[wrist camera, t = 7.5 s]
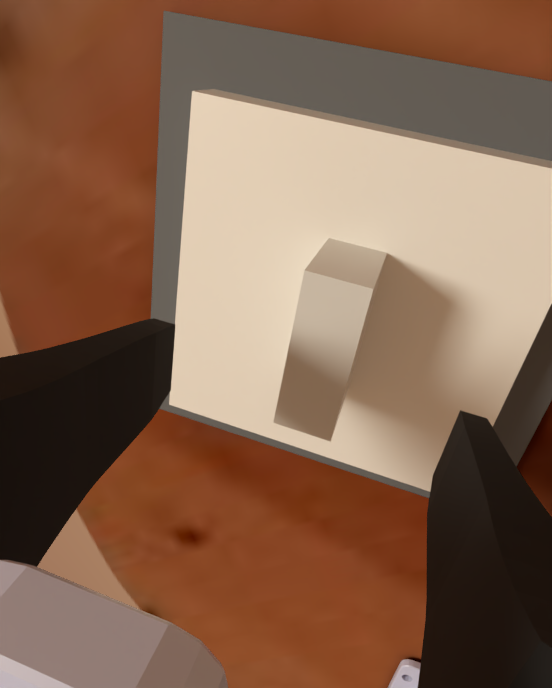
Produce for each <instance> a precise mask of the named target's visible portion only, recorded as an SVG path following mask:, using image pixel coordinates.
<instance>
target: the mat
mask: <svg viewBox="0 0 552 688" xmlns="http://www.w3.org/2000/svg"><path fill="white" fill-rule="evenodd" d="M208 89H216V90H221V91H226V92H230V93H235V94H240V95H244V96H249V97H254V98H258V99H263V100H268V101H272V102H277V103H282V104H286V105H291V106H296V107H301V108H305V109H310V110H315V111H319V112H324V113H329V114H333V115H338V116H343V117H347V118H352V119H357V120H361V121H366V122H371V123H375V124H380V125H385V126H389V127H394V128H399V129H404V130H408V131H413V132H418V133H422V134H427V135H432V136H436V137H441V138H446V139H450V140H455V141H460V142H464V143H469V144H474V145H478V146H483V147H488V148H492V149H497V150H502V151H506V152H511V153H516V154H521V155H525V156H530V157H535V158H539V159H544V160H549V161H552V82H551V81H546V80H541V79H535V78H530V77H524V76H519V75H513V74H508V73H502V72H497V71H491V70H486V69H480V68H475V67H469V66H464V65H458V64H453V63H447V62H442V61H436V60H431V59H425V58H420V57H414V56H409V55H403V54H398V53H393V52H387V51H382V50H376V49H371V48H365V47H360V46H354V45H349V44H343V43H338V42H332V41H327V40H321V39H316V38H310V37H305V36H299V35H294V34H288V33H283V32H277V31H272V30H266V29H261V28H255V27H250V26H245V25H239V24H234V23H228V22H223V21H217V20H212V19H206V18H201V17H195V16H190V15H184V14H179V13H173V12H168V11H164V17H163V41H162V65H161V89H160V113H159V137H158V160H157V184H156V208H155V232H154V256H153V280H152V304H151V319H153V318H155V319H158V320H162V321H165V322H168V323H172V324H175V316H176V302H177V288H178V275H179V261H180V248H181V234H182V221H183V207H184V193H185V180H186V166H187V153H188V139H189V125H190V112H191V98H192V91H197V90H208ZM169 397H170V392H169V394H168V395H167V397H166V399H165V400H164V402H163V403H162V405H161V406H160V408H159V409H162V410H165V411H168V412H172V413H175V414H178V415H181V416H184V417H187V418H190V419H193V420H196V421H199V422H202V423H205V424H208V425H211V426H214V427H217V428H220V429H223V430H226V431H229V432H232V433H235V434H238V435H241V436H244V437H247V438H250V439H253V440H256V441H259V442H262V443H265V444H268V445H271V446H274V447H277V448H280V449H283V450H286V451H289V452H292V453H295V454H298V455H301V456H304V457H307V458H310V459H313V460H316V461H319V462H322V463H325V464H328V465H331V466H334V467H337V468H340V469H343V470H346V471H349V472H352V473H355V474H358V475H361V476H364V477H367V478H370V479H373V480H376V481H379V482H382V483H385V484H388V485H391V486H394V487H397V488H400V489H403V490H406V491H409V492H412V493H415V494H418V495H421V496H424V497H427V498H429V497H430V492H429V491H426V490H423V489H420V488H417V487H414V486H411V485H408V484H405V483H402V482H399V481H396V480H393V479H390V478H387V477H385V476H382V475H379V474H376V473H373V472H370V471H367V470H364V469H361V468H358V467H355V466H352V465H349V464H346V463H343V462H340V461H337V460H334V459H331V458H328V457H325V456H322V455H319V454H316V453H313V452H310V451H307V450H304V449H301V448H298V447H295V446H292V445H289V444H286V443H283V442H280V441H277V440H274V439H271V438H268V437H265V436H262V435H259V434H256V433H253V432H250V431H247V430H244V429H241V428H238V427H235V426H232V425H229V424H226V423H223V422H220V421H217V420H214V419H211V418H208V417H205V416H202V415H199V414H196V413H193V412H190V411H187V410H184V409H181V408H178V407H175V406H172V405H169ZM551 400H552V304H551V306H550V308H549V310H548V312H547V314H546V316H545V318H544V320H543V323H542V325H541V327H540V329H539V331H538V333H537V335H536V337H535V339H534V341H533V343H532V346H531V348H530V350H529V352H528V354H527V356H526V358H525V360H524V362H523V364H522V367H521V369H520V371H519V373H518V375H517V377H516V379H515V381H514V383H513V385H512V387H511V390H510V392H509V394H508V396H507V398H506V400H505V402H504V404H503V406H502V408H501V410H500V413H499V415H498V417H497V419H496V421H495V423H494V425H493V429H494V430H495V432H496V434H497V436H498V437H499V439H500V441H501V442H502V444H503V446H504V447H505V449H506V451H507V453H508V454H509V456H510V458H511V459H512V461H513V462H514V464H515V466H516V467H517V465H518V463H519V461H520V459H521V457H522V455H523V453H524V452H525V450H526V448H527V446H528V444H529V442H530V440H531V438H532V436H533V434H534V433H535V431H536V429H537V427H538V425H539V423H540V421H541V419H542V417H543V415H544V414H545V412H546V410H547V408H548V406H549V404H550V402H551Z"/></svg>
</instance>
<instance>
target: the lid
mask: <svg viewBox="0 0 552 688" xmlns="http://www.w3.org/2000/svg"><path fill="white" fill-rule="evenodd" d="M551 304H552V161H549V160H544V159H539V158H535V157H530V156H525V155H521V154H516V153H511V152H506V151H502V150H497V149H492V148H488V147H483V146H478V145H474V144H469V143H464V142H460V141H455V140H450V139H446V138H441V137H436V136H432V135H427V134H422V133H418V132H413V131H408V130H404V129H399V128H394V127H389V126H385V125H380V124H375V123H371V122H366V121H361V120H357V119H352V118H347V117H343V116H338V115H333V114H329V113H324V112H319V111H315V110H310V109H305V108H301V107H296V106H291V105H286V104H282V103H277V102H272V101H268V100H263V99H258V98H254V97H249V96H244V95H240V94H235V93H230V92H226V91H221V90H216V89H208V90H197V91H192V98H191V112H190V125H189V139H188V153H187V166H186V180H185V193H184V207H183V221H182V234H181V248H180V261H179V275H178V288H177V302H176V316H175V339H174V353H173V366H172V380H171V391H170V397H169V405H172V406H175V407H178V408H181V409H184V410H187V411H190V412H193V413H196V414H199V415H202V416H205V417H208V418H211V419H214V420H217V421H220V422H223V423H226V424H229V425H232V426H235V427H238V428H241V429H244V430H247V431H250V432H253V433H256V434H259V435H262V436H265V437H268V438H271V439H274V440H277V441H280V442H283V443H286V444H289V445H292V446H295V447H298V448H301V449H304V450H307V451H310V452H313V453H316V454H319V455H322V456H325V457H328V458H331V459H334V460H337V461H340V462H343V463H346V464H349V465H352V466H355V467H358V468H361V469H364V470H367V471H370V472H373V473H376V474H379V475H382V476H385V477H387V478H390V479H393V480H396V481H399V482H402V483H405V484H408V485H411V486H414V487H417V488H420V489H423V490H426V491H429V492H430V490H431V484H432V477H433V474H434V471H435V469H436V467H437V464H438V462H439V460H440V457H441V455H442V452H443V450H444V448H445V445H446V443H447V440H448V438H449V436H450V433H451V431H452V429H453V426H454V424H455V421H456V419H457V417H458V414H459V412H460V410H461V411H464V412H468V413H471V414H474V415H478V416H481V417H484V418H487V419H488V420H489V422H490V424H491V425H492V427H493V425H494V423H495V421H496V419H497V417H498V415H499V413H500V410H501V408H502V406H503V404H504V402H505V400H506V398H507V396H508V394H509V392H510V390H511V387H512V385H513V383H514V381H515V379H516V377H517V375H518V373H519V371H520V369H521V367H522V364H523V362H524V360H525V358H526V356H527V354H528V352H529V350H530V348H531V346H532V343H533V341H534V339H535V337H536V335H537V333H538V331H539V329H540V327H541V325H542V323H543V320H544V318H545V316H546V314H547V312H548V310H549V308H550V306H551Z"/></svg>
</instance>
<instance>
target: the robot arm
mask: <svg viewBox="0 0 552 688" xmlns="http://www.w3.org/2000/svg"><path fill="white" fill-rule="evenodd" d="M174 339H175V324H172V323H168V322H165V321H162V320H158V319H155V318H153V319H148V320H144V321H140V322H136V323H133V324H130V325H126V326H123V327H120V328H117V329H114V330H110V331H107V332H104V333H101V334H97V335H94V336H91V337H88V338H84V339H81V340H77V341H73V342H69V343H66V344H62V345H58V346H55V347H51V348H47V349H43V350H38V351H34V352H29V353H24V354H18V355H13V356H7V357H1V358H0V688H228V685H227V680H226V676H225V671H224V669H223V667H222V665H221V663H220V662H219V661H218V659H217V658H216V657H215V656H214V655H213V654H212V653H211V651H210V650H209V649H208V648H207V647H206V646H205V645H204V643H203V642H202V641H201V640H199V639H198V638H196V637H194V636H193V635H191V634H189V633H188V632H186V631H184V630H183V629H181V628H179V627H178V626H176V625H174V624H173V623H171V622H168V621H166V620H163V619H161V618H159V617H156V616H154V615H151V614H149V613H146V612H144V611H142V610H139V609H137V608H134V607H132V606H130V605H127V604H125V603H122V602H120V601H118V600H115V599H113V598H110V597H108V596H105V595H103V594H101V593H98V592H96V591H93V590H91V589H89V588H86V587H84V586H81V585H79V584H77V583H74V582H72V581H69V580H67V579H64V578H62V577H60V576H57V575H55V574H52V573H50V572H48V571H45V570H43V569H40V568H38V567H37V566H38V564H39V563H40V561H41V559H42V558H43V556H44V555H45V553H46V552H47V550H48V549H49V547H50V546H51V544H52V543H53V541H54V540H55V538H56V537H57V536H58V534H59V533H60V531H61V530H62V528H63V527H64V525H65V524H66V522H67V521H68V519H69V518H70V516H71V515H72V514H73V512H74V511H75V510H76V508H77V507H78V505H79V504H80V503H81V501H82V500H83V498H84V497H85V496H86V494H87V493H88V492H89V490H90V489H91V488H92V487H93V485H94V484H95V483H96V482H97V481H98V479H99V478H100V477H101V476H102V475H103V474H104V473H105V471H106V470H107V469H108V468H109V467H110V466H111V465H112V464H113V463H114V461H115V460H116V459H117V458H118V457H119V456H120V455H121V454H122V452H123V451H124V450H125V449H126V448H127V447H128V446H129V445H130V444H131V442H132V441H133V440H134V439H135V438H136V437H137V436H138V435H139V433H140V432H141V431H142V430H143V429H144V428H145V427H146V425H147V424H148V423H149V422H150V421H151V420H152V418H153V417H154V415H155V414H156V412H157V411H158V409H159V408H160V406H161V405H162V403H163V402H164V400H165V399H166V397H167V395H168V394H169V392H170V391H171V380H172V366H173V353H174ZM388 688H552V517H551V516H550V515H549V513H548V512H547V511H546V509H545V508H544V507H543V505H542V504H541V502H540V501H539V500H538V498H537V497H536V496H535V494H534V493H533V491H532V490H531V488H530V487H529V486H528V484H527V483H526V481H525V480H524V478H523V477H522V475H521V473H520V472H519V470H518V469H517V467H516V466H515V464H514V462H513V461H512V459H511V458H510V456H509V454H508V453H507V451H506V449H505V447H504V446H503V444H502V442H501V441H500V439H499V437H498V436H497V434H496V432H495V430H494V429H493V427H492V425H491V424H490V422H489V420H488V419H487V418H484V417H481V416H478V415H474V414H471V413H468V412H464V411H461V410H460V412H459V414H458V417H457V419H456V421H455V424H454V426H453V429H452V431H451V433H450V436H449V438H448V440H447V443H446V445H445V448H444V450H443V452H442V455H441V457H440V460H439V462H438V464H437V467H436V469H435V471H434V474H433V477H432V484H431V490H430V497H429V505H428V512H427V604H426V622H425V630H424V639H423V648H422V657H421V663H419V662H417V661H414V660H411V659H405V660H402V661H401V662H400V664H399V666H398V668H397V670H396V672H395V674H394V676H393V678H392V680H391V682H390V684H389V686H388Z"/></svg>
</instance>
